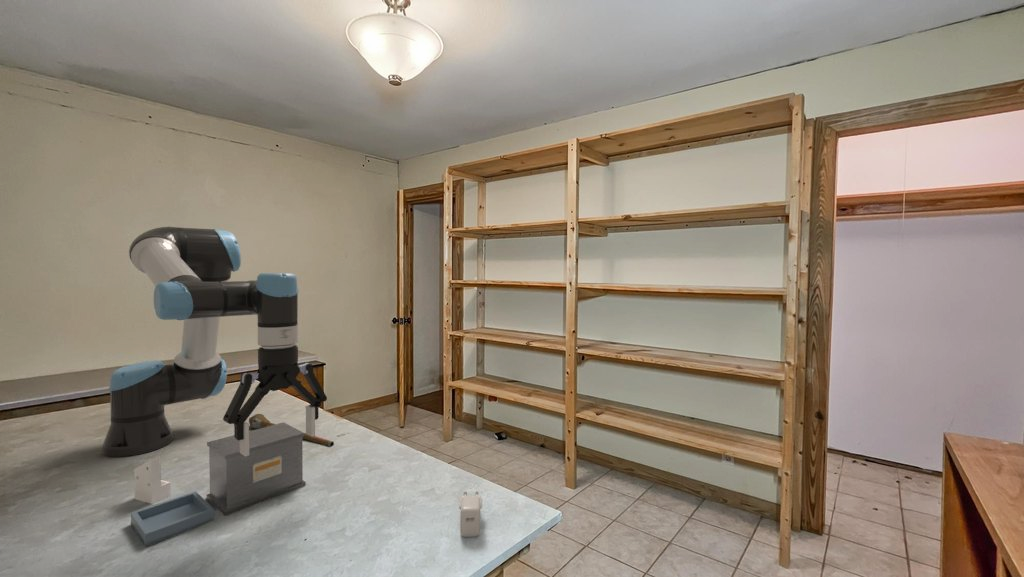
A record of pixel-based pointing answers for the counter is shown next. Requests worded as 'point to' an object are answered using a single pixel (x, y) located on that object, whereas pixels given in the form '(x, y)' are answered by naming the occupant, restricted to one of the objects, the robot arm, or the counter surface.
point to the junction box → (255, 468)
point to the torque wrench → (262, 422)
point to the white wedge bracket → (150, 482)
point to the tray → (171, 518)
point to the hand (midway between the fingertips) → (279, 444)
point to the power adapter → (470, 515)
